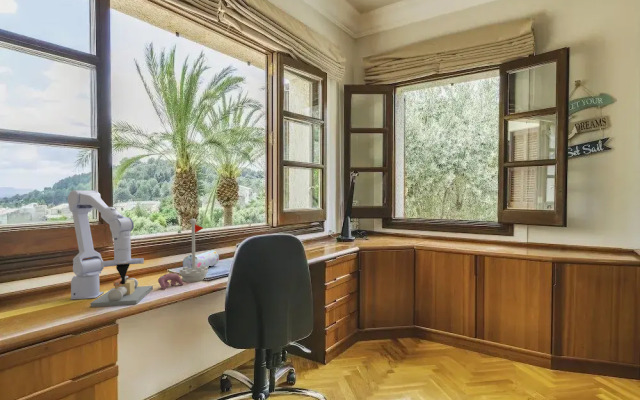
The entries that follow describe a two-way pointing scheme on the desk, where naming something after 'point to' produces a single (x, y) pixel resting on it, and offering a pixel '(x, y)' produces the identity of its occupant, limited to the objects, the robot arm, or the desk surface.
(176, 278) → the pink animal figurine
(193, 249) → the flag stand
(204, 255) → the pencil case
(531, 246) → the desk surface
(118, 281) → the valve lever
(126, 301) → the valve board
